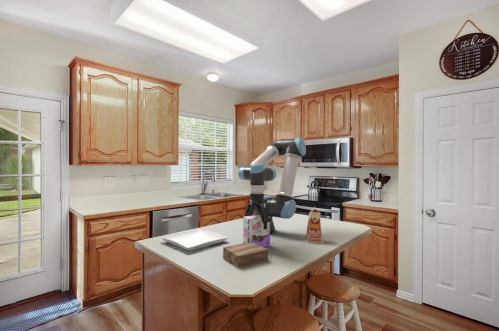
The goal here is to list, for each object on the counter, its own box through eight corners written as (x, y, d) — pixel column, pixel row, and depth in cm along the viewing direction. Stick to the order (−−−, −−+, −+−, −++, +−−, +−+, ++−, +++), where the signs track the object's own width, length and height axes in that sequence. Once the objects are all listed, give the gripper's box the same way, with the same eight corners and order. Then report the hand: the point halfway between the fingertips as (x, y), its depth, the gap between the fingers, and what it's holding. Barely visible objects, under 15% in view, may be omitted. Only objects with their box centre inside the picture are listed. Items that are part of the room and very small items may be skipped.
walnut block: (223, 257, 125) (223, 247, 125) (251, 251, 134) (251, 241, 134) (238, 267, 114) (238, 256, 114) (268, 260, 123) (268, 249, 123)
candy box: (247, 250, 137) (247, 218, 136) (242, 246, 142) (242, 216, 142) (270, 246, 143) (270, 216, 143) (264, 243, 148) (265, 214, 148)
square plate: (188, 255, 130) (188, 247, 130) (159, 243, 148) (160, 236, 148) (228, 242, 150) (228, 236, 150) (199, 233, 168) (199, 227, 168)
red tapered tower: (323, 243, 149) (323, 207, 149) (306, 242, 151) (306, 207, 151) (322, 238, 158) (322, 205, 158) (306, 237, 160) (306, 204, 160)
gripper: (238, 191, 150) (238, 228, 150) (265, 195, 129) (264, 239, 130) (249, 190, 154) (249, 226, 154) (277, 194, 134) (276, 237, 134)
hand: (256, 232), depth 142 cm, fingers open, 13 cm apart
